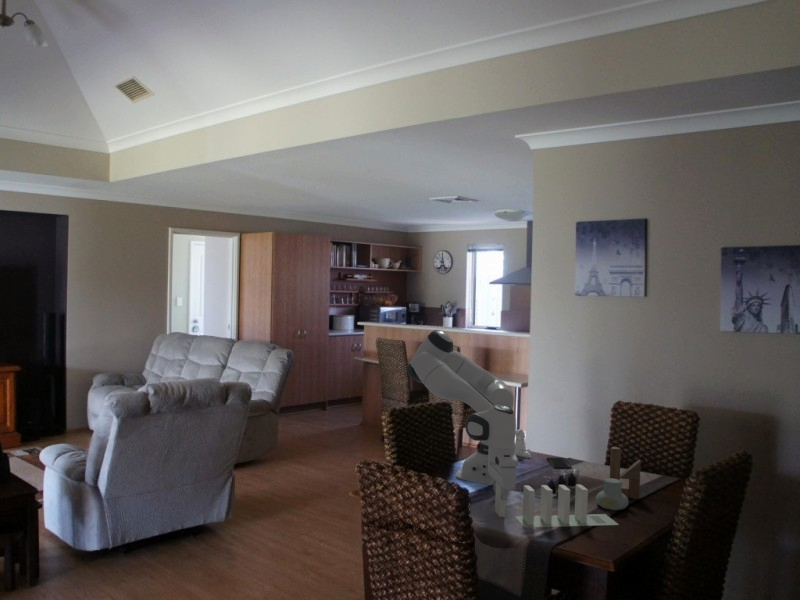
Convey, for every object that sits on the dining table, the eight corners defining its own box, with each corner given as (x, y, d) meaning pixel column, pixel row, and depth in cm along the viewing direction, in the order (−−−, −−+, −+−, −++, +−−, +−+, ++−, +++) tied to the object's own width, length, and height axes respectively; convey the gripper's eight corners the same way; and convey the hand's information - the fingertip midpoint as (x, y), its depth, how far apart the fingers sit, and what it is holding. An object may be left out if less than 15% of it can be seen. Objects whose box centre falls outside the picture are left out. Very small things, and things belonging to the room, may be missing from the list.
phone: (563, 457, 304) (572, 467, 289) (563, 460, 304) (572, 469, 289) (546, 457, 304) (553, 466, 289) (546, 459, 304) (553, 469, 289)
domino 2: (528, 524, 219) (529, 490, 218) (522, 518, 224) (523, 485, 224) (533, 524, 219) (534, 490, 219) (527, 518, 224) (529, 485, 224)
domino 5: (581, 523, 221) (582, 489, 221) (574, 517, 227) (575, 484, 227) (586, 523, 222) (587, 489, 221) (579, 517, 227) (580, 484, 227)
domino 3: (546, 524, 220) (547, 490, 219) (540, 518, 225) (541, 485, 225) (551, 524, 220) (552, 490, 219) (545, 517, 225) (546, 485, 225)
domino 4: (563, 523, 220) (565, 490, 220) (557, 517, 226) (558, 484, 226) (569, 523, 221) (570, 490, 220) (562, 517, 226) (563, 484, 226)
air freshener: (630, 508, 241) (631, 480, 240) (625, 515, 233) (626, 486, 233) (599, 502, 246) (600, 475, 246) (593, 508, 239) (594, 480, 239)
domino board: (524, 530, 216) (524, 527, 216) (514, 519, 226) (514, 516, 226) (618, 527, 221) (619, 524, 221) (605, 516, 231) (605, 513, 231)
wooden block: (639, 499, 251) (641, 451, 250) (608, 496, 253) (610, 448, 252) (638, 496, 254) (640, 448, 253) (608, 493, 257) (610, 446, 256)
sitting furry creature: (530, 458, 304) (531, 432, 304) (511, 457, 306) (512, 430, 305) (530, 453, 314) (531, 427, 313) (511, 452, 315) (512, 426, 315)
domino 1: (499, 519, 225) (500, 487, 225) (494, 514, 231) (495, 481, 230) (504, 519, 225) (506, 486, 225) (500, 513, 231) (501, 481, 231)
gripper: (484, 447, 237) (482, 486, 238) (501, 463, 217) (499, 506, 218) (501, 446, 238) (500, 486, 239) (520, 462, 218) (518, 505, 218)
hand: (500, 495), depth 228 cm, fingers open, 7 cm apart
